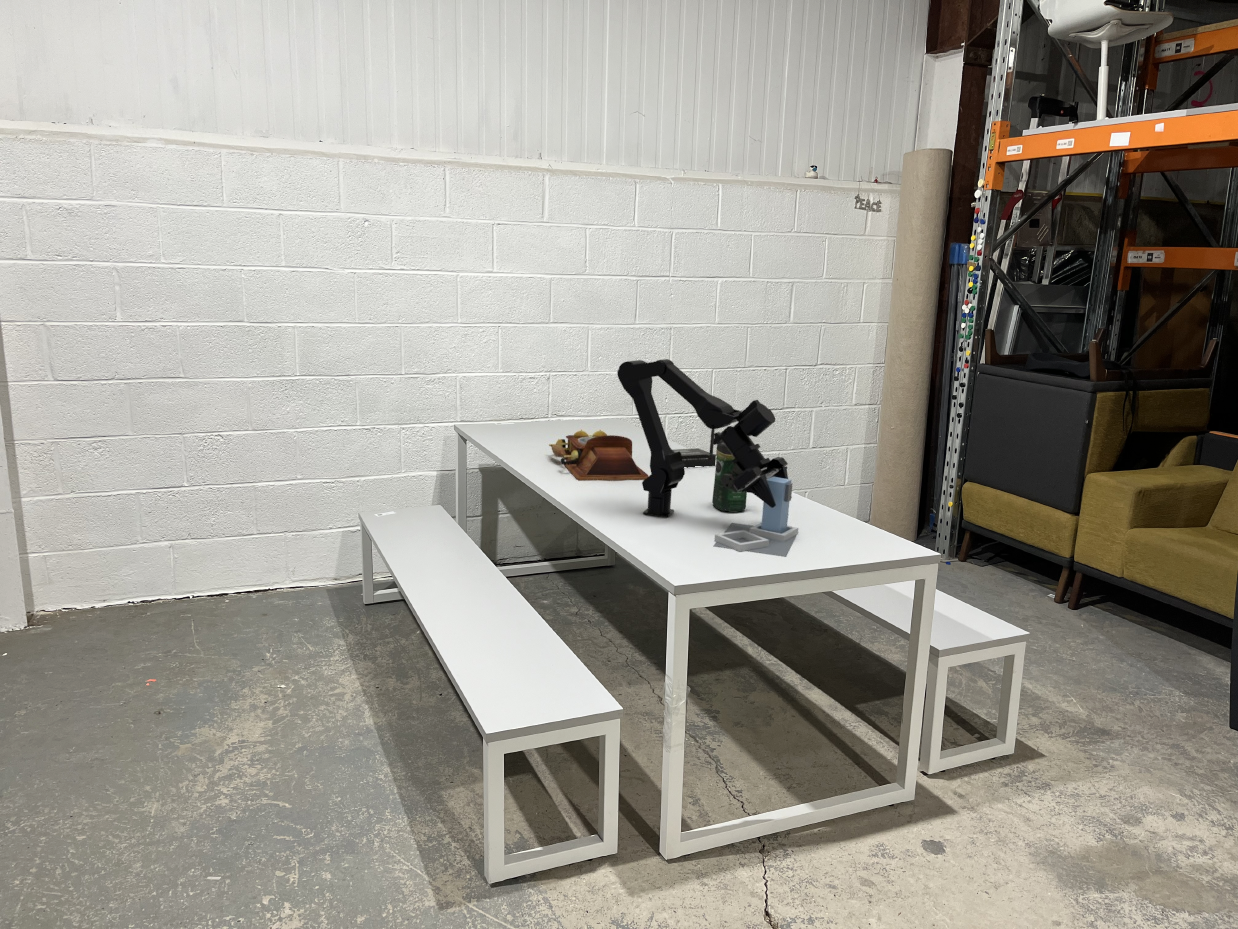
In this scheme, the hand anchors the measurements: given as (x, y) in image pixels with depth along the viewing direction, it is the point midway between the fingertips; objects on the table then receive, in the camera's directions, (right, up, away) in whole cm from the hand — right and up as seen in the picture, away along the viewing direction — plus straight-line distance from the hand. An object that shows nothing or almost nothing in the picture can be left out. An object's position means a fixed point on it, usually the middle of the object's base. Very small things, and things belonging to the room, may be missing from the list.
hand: (782, 503), depth 212 cm
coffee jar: (-9, -3, +28) cm, 29 cm away
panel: (-6, -9, -2) cm, 11 cm away
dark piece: (-15, +9, +79) cm, 81 cm away
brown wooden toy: (-45, +8, +69) cm, 83 cm away
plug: (-2, -7, +2) cm, 8 cm away
